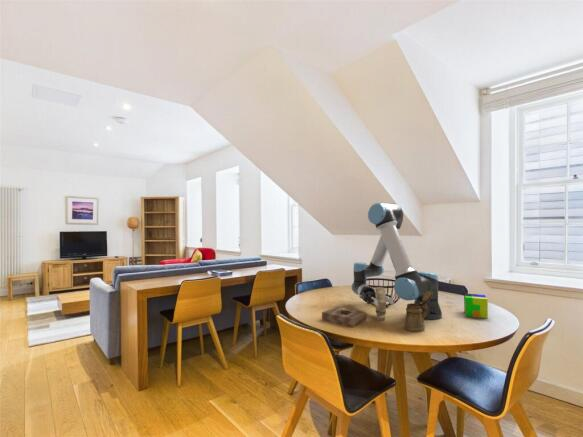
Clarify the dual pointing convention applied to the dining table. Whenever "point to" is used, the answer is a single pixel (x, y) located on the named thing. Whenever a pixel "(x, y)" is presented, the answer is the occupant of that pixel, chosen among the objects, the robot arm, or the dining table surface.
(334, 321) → the walnut board
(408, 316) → the wooden mug
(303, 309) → the dining table surface
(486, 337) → the dining table surface
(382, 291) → the birch peg
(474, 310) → the puzzle toy
